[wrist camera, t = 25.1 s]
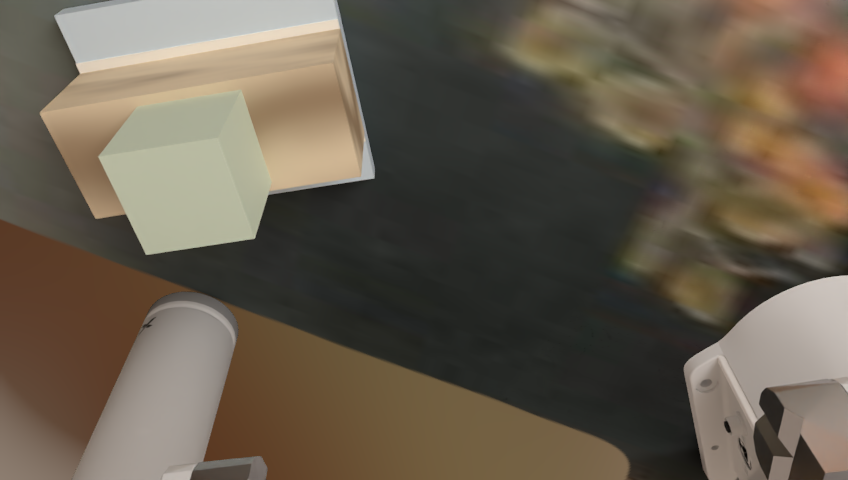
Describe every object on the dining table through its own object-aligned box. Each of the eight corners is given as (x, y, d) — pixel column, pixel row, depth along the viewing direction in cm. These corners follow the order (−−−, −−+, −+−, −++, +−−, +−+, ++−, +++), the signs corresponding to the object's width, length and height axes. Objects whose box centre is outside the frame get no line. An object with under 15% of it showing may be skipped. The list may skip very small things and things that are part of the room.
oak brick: (364, 132, 38) (361, 176, 34) (127, 171, 39) (95, 218, 34) (340, 28, 34) (333, 62, 30) (80, 73, 35) (39, 112, 31)
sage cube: (271, 182, 34) (254, 238, 30) (176, 196, 34) (146, 254, 30) (241, 89, 31) (217, 137, 27) (137, 106, 31) (97, 156, 27)
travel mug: (131, 293, 45) (-18, 587, 29) (227, 286, 45) (133, 575, 29) (158, 359, 49) (39, 653, 33) (247, 352, 49) (174, 643, 32)
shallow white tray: (374, 168, 41) (374, 179, 39) (152, 203, 41) (146, 214, 40) (328, -38, 34) (326, -32, 33) (63, 8, 35) (53, 16, 33)
